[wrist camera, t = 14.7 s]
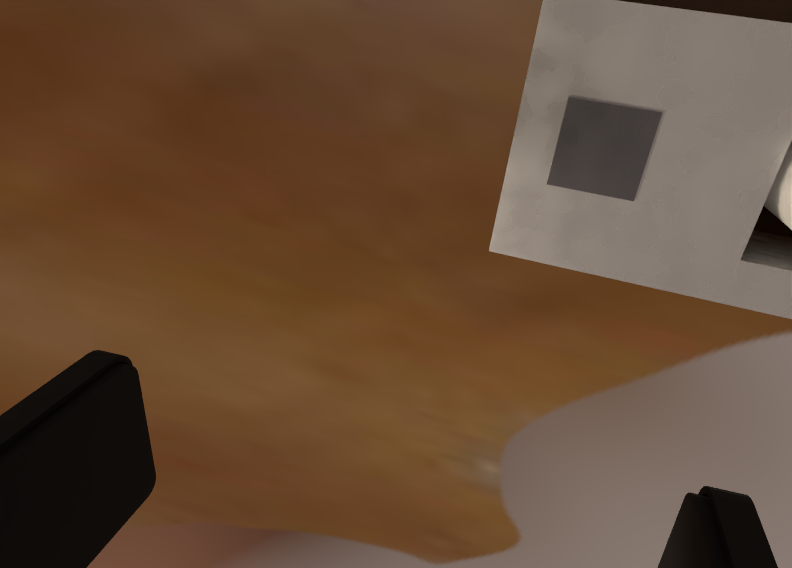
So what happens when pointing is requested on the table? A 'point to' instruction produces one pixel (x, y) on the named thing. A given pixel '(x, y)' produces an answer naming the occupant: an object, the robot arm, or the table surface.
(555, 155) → the white block holder
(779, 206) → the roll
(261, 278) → the table surface
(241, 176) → the table surface
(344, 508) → the table surface
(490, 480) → the table surface
